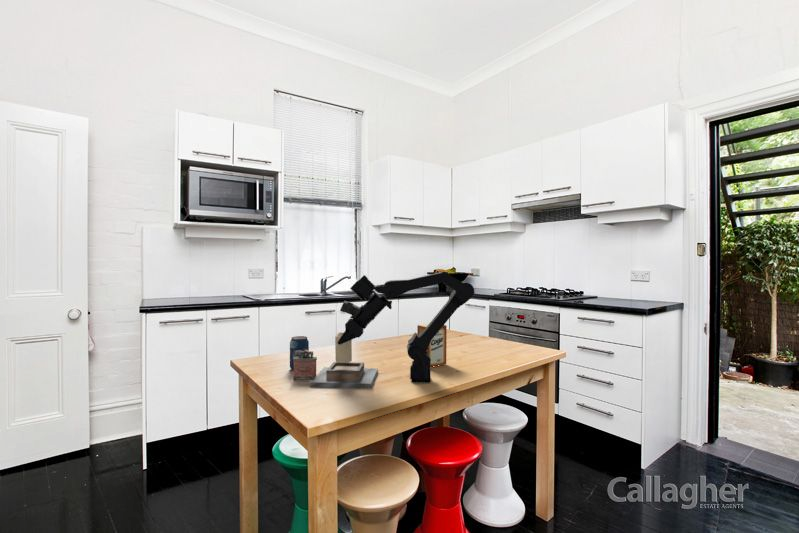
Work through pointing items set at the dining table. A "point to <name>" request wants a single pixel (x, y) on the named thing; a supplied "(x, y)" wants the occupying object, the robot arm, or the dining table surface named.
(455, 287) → the robot arm
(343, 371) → the candle stand
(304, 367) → the lighter
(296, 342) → the soda can
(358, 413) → the dining table surface
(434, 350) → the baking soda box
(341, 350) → the candle
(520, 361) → the dining table surface
